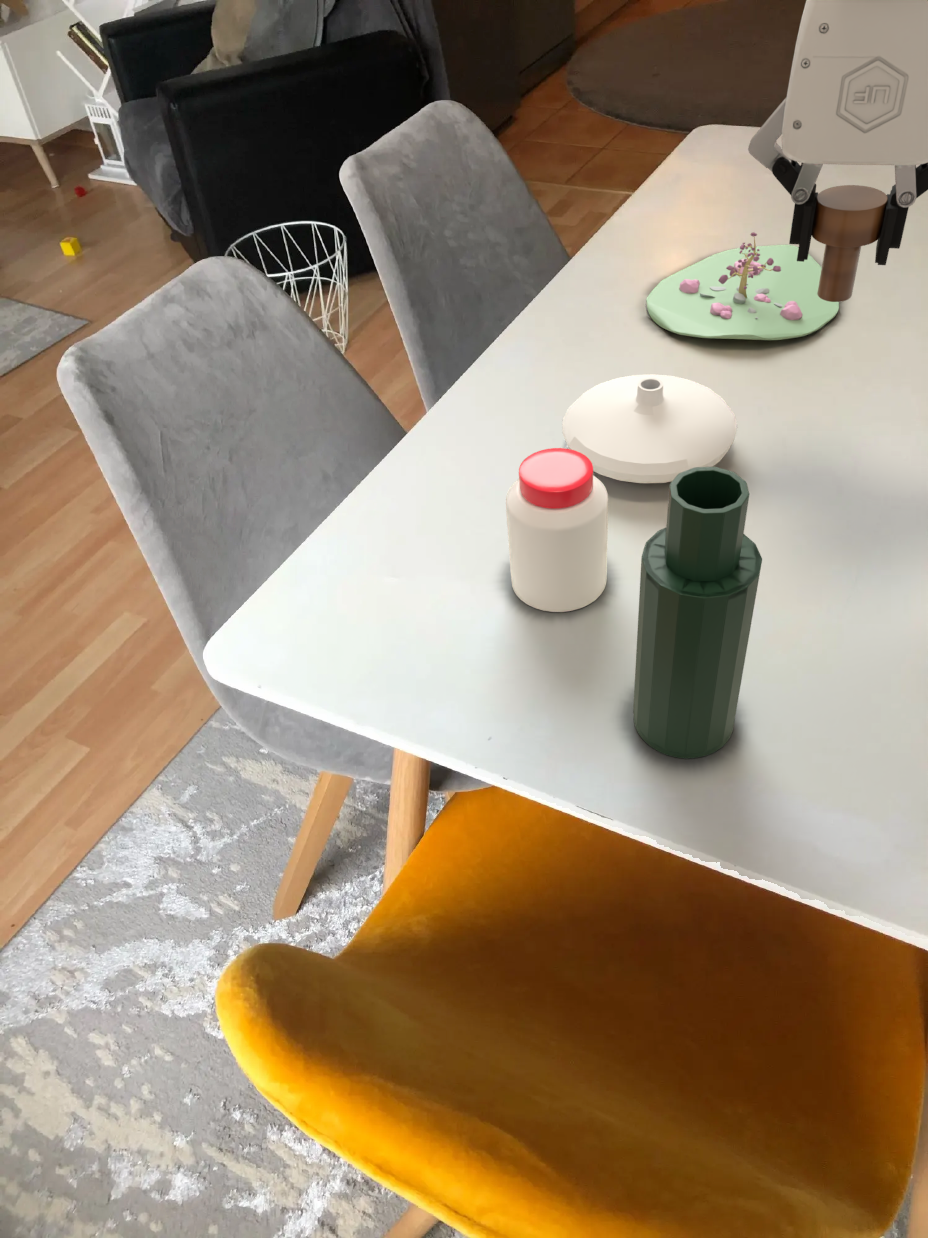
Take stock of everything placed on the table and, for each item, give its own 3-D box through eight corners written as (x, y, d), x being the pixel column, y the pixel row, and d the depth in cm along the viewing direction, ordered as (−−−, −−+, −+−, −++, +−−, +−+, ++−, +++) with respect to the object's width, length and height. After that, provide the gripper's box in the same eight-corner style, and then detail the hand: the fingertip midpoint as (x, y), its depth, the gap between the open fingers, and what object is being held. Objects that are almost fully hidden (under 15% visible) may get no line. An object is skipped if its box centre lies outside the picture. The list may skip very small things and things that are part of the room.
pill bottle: (577, 625, 74) (576, 513, 67) (493, 592, 78) (483, 482, 70) (623, 566, 79) (627, 455, 71) (542, 537, 82) (537, 429, 74)
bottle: (754, 733, 65) (800, 500, 51) (671, 774, 64) (695, 544, 50) (694, 669, 70) (721, 439, 56) (614, 706, 68) (622, 478, 54)
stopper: (881, 297, 69) (903, 198, 65) (831, 315, 68) (849, 216, 63) (837, 275, 73) (854, 179, 68) (788, 292, 71) (802, 195, 67)
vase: (705, 519, 82) (712, 450, 77) (535, 481, 88) (532, 415, 83) (753, 421, 91) (763, 354, 86) (598, 392, 97) (598, 328, 92)
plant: (674, 242, 120) (679, 167, 114) (848, 253, 114) (863, 174, 108) (629, 341, 104) (632, 260, 98) (829, 360, 98) (846, 275, 92)
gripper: (739, -32, 56) (712, 272, 68) (1067, -45, 51) (973, 285, 63) (754, -59, 61) (727, 229, 73) (1054, -73, 56) (970, 238, 68)
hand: (842, 252), depth 68 cm, fingers closed on stopper, 4 cm apart
